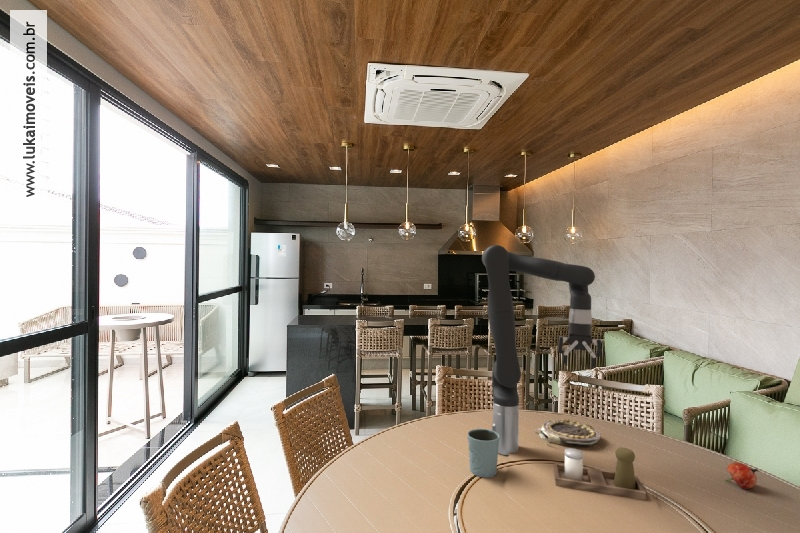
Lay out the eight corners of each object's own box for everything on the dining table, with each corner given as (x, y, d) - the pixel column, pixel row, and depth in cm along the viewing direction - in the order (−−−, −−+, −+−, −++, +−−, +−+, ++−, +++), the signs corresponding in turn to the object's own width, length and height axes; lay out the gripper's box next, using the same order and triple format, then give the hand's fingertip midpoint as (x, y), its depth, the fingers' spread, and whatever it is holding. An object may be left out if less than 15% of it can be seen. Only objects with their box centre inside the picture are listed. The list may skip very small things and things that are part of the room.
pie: (563, 422, 180) (563, 411, 180) (625, 445, 157) (625, 432, 157) (520, 434, 165) (520, 422, 165) (581, 462, 142) (581, 448, 142)
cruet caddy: (555, 488, 122) (555, 478, 122) (553, 472, 133) (553, 462, 133) (646, 503, 115) (646, 493, 115) (636, 484, 125) (636, 475, 125)
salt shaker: (565, 482, 124) (565, 454, 124) (563, 474, 129) (564, 447, 129) (583, 485, 123) (583, 456, 123) (581, 477, 128) (581, 449, 128)
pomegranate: (729, 495, 125) (763, 485, 119) (712, 469, 129) (744, 459, 123) (736, 490, 129) (770, 481, 123) (720, 466, 133) (752, 456, 127)
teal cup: (501, 468, 135) (502, 431, 135) (495, 482, 126) (495, 443, 126) (471, 461, 139) (472, 426, 139) (463, 474, 130) (464, 436, 130)
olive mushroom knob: (639, 492, 119) (640, 454, 120) (617, 489, 120) (617, 452, 121) (631, 481, 125) (631, 445, 125) (610, 479, 126) (610, 444, 126)
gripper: (559, 321, 145) (558, 366, 145) (603, 324, 141) (602, 371, 141) (558, 319, 152) (557, 362, 152) (600, 322, 148) (598, 366, 148)
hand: (578, 366), depth 146 cm, fingers open, 8 cm apart
